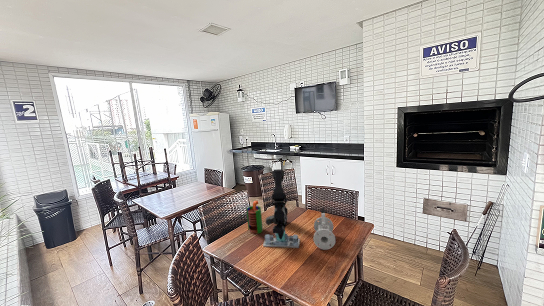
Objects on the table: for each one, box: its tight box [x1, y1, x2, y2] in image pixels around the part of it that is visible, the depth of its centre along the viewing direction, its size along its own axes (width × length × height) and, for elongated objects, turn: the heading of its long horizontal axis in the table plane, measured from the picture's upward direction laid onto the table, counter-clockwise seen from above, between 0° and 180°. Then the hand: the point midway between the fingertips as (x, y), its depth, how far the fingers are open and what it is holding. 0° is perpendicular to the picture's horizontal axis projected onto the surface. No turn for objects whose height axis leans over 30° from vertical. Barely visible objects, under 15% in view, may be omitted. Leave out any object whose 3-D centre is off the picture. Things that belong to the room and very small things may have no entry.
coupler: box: [274, 230, 289, 241], centre depth 131 cm, size 4×8×4 cm, turn 79°
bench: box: [262, 234, 301, 249], centre depth 131 cm, size 8×21×5 cm, turn 79°
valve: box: [313, 208, 336, 251], centre depth 132 cm, size 22×12×15 cm, turn 168°
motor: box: [246, 200, 263, 235], centre depth 148 cm, size 10×9×20 cm
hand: (281, 237), depth 131 cm, fingers closed on coupler, 4 cm apart
